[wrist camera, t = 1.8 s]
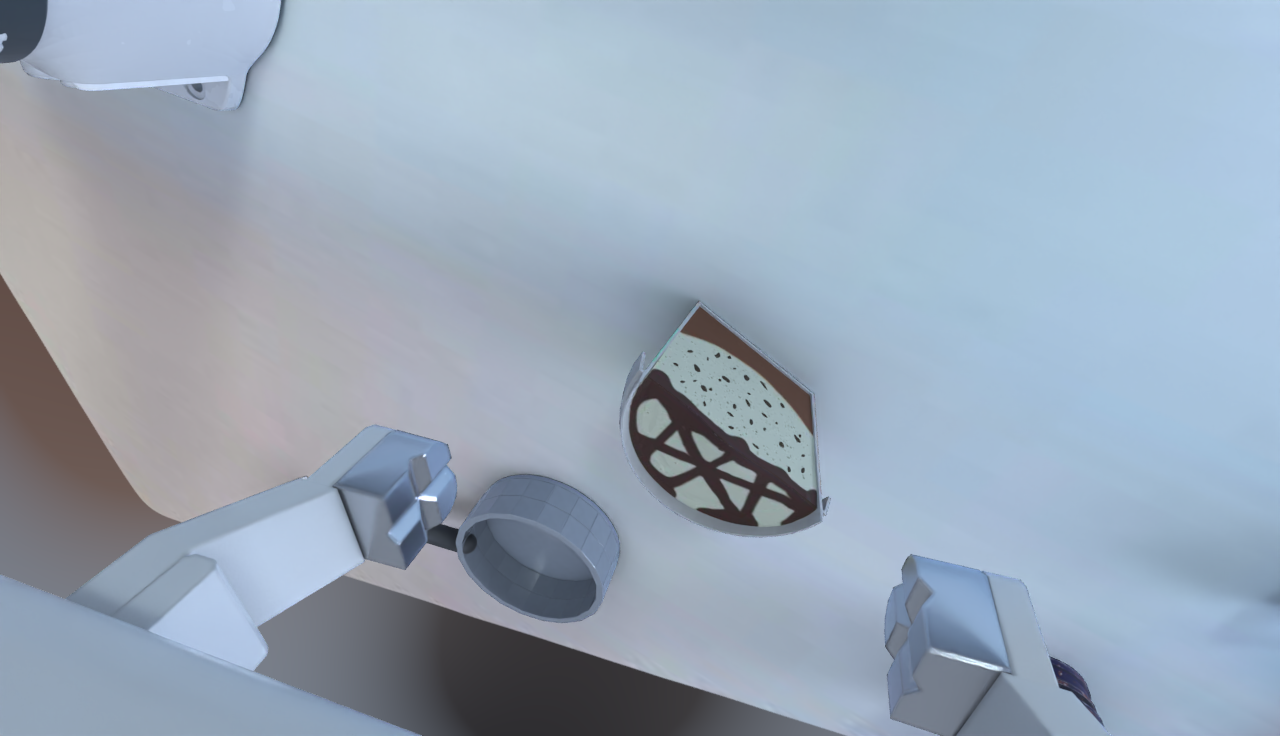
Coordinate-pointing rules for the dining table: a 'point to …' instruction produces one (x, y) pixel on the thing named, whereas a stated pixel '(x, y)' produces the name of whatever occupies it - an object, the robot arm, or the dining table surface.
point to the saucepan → (540, 548)
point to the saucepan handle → (449, 538)
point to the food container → (723, 433)
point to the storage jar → (1074, 684)
